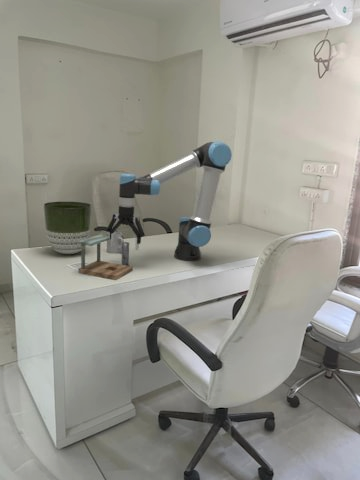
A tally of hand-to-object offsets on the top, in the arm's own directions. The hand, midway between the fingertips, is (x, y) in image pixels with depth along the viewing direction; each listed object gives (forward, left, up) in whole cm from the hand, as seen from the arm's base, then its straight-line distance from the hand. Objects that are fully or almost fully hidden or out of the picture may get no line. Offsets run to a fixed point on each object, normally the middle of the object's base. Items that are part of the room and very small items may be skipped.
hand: (124, 247), depth 185 cm
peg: (0, 0, -9) cm, 9 cm away
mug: (+17, -20, -10) cm, 28 cm away
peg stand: (+3, +13, -9) cm, 16 cm away
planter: (+38, -4, -10) cm, 39 cm away
